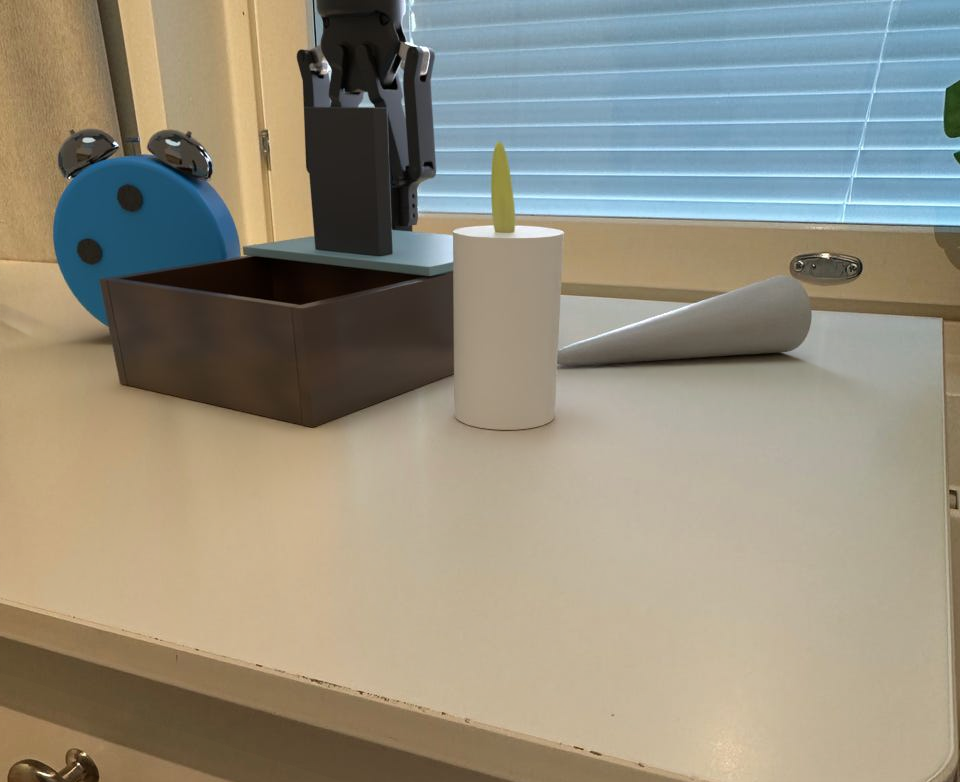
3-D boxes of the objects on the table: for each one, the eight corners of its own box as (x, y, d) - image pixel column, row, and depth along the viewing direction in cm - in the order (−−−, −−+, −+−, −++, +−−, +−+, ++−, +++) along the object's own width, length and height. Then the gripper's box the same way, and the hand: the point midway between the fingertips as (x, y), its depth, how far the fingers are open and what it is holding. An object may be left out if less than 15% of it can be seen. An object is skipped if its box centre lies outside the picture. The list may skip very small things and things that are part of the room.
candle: (577, 414, 56) (595, 141, 48) (505, 436, 52) (511, 142, 44) (505, 394, 59) (511, 138, 52) (433, 413, 56) (428, 139, 48)
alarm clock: (251, 329, 76) (227, 128, 69) (237, 345, 71) (209, 130, 63) (97, 328, 76) (56, 127, 68) (72, 345, 71) (24, 128, 63)
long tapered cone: (588, 323, 60) (813, 275, 65) (544, 317, 65) (756, 274, 71) (595, 408, 62) (810, 355, 68) (552, 396, 68) (755, 348, 73)
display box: (119, 383, 61) (98, 278, 57) (378, 315, 82) (374, 235, 78) (312, 427, 53) (301, 308, 49) (544, 339, 74) (548, 251, 70)
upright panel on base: (243, 254, 67) (225, 106, 62) (369, 235, 78) (363, 107, 73) (429, 276, 59) (426, 107, 54) (541, 251, 70) (546, 109, 65)
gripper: (244, -37, 75) (274, 256, 87) (425, -55, 67) (431, 274, 78) (304, -27, 81) (324, 248, 93) (479, -42, 72) (477, 264, 84)
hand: (374, 260), depth 85 cm, fingers closed on cup, 6 cm apart
